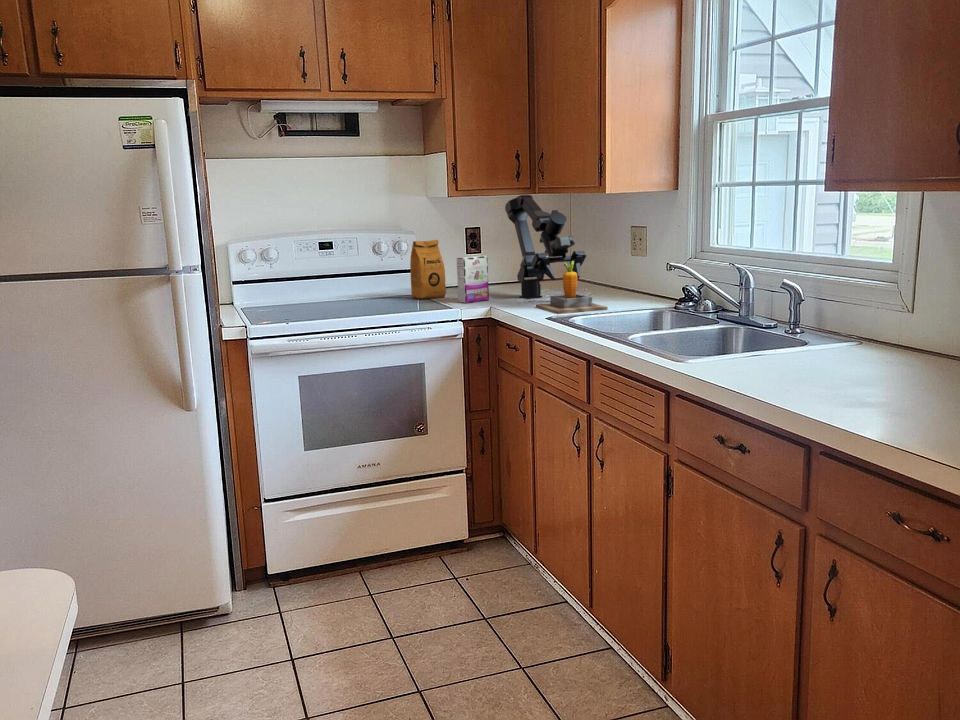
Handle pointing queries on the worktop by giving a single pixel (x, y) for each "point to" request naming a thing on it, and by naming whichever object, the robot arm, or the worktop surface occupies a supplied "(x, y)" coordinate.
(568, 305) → the socket base
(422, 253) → the coffee package
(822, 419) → the worktop surface
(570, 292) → the carrot
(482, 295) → the candy bar box
